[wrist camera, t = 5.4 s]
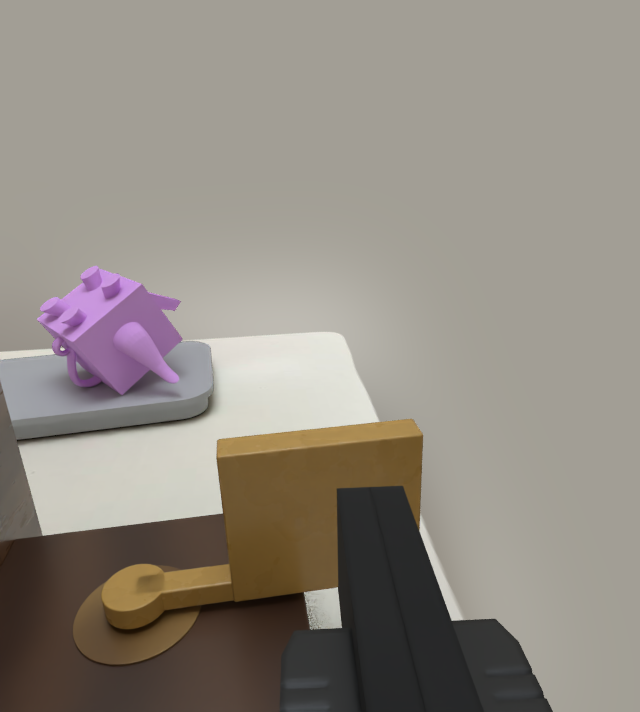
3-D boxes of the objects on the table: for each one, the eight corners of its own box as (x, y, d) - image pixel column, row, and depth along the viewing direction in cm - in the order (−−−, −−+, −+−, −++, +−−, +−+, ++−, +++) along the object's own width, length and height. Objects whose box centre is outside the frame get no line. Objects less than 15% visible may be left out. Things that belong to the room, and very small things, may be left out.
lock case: (289, 554, 35) (267, 234, 27) (345, 932, 18) (327, 378, 11) (21, 591, 33) (-81, 254, 25) (-192, 1054, 16) (-671, 473, 9)
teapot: (100, 234, 60) (150, 302, 66) (-3, 313, 55) (62, 378, 61) (186, 257, 47) (238, 337, 54) (63, 361, 43) (136, 437, 49)
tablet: (-23, 381, 62) (-28, 362, 61) (212, 356, 67) (209, 338, 66) (-92, 456, 47) (-100, 433, 46) (216, 418, 52) (213, 396, 51)
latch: (404, 545, 26) (408, 411, 23) (422, 586, 24) (429, 442, 21) (111, 585, 24) (80, 445, 22) (99, 634, 22) (61, 483, 19)
